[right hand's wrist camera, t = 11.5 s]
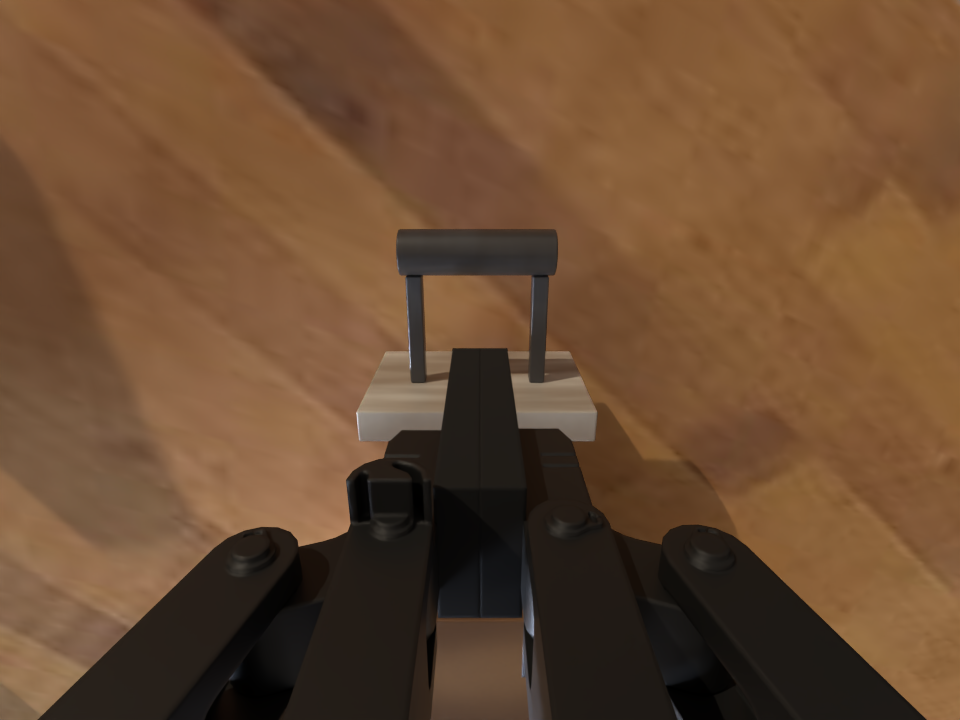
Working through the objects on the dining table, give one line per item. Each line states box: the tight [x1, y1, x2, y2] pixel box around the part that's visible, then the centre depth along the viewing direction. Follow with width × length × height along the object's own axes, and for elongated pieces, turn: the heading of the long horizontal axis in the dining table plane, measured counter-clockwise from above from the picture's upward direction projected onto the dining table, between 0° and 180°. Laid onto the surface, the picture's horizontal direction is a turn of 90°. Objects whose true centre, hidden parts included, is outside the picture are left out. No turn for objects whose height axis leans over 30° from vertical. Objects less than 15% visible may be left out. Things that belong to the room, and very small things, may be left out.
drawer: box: [357, 229, 598, 441], centre depth 24 cm, size 25×8×6 cm, turn 0°
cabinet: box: [431, 609, 529, 720], centre depth 28 cm, size 20×10×8 cm, turn 0°
